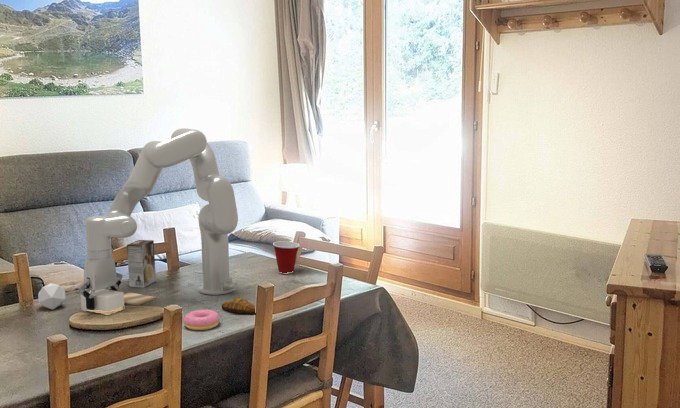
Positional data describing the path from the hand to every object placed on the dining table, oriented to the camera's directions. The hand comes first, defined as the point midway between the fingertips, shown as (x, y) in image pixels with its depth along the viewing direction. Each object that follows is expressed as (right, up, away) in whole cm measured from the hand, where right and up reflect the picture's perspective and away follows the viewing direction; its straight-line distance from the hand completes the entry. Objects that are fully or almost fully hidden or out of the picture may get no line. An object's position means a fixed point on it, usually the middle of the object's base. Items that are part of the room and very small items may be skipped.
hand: (102, 305), depth 217 cm
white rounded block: (0, -2, 0) cm, 2 cm away
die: (-18, -2, +4) cm, 18 cm away
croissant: (+45, -2, -1) cm, 45 cm away
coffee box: (+4, +3, +31) cm, 32 cm away
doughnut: (+36, -4, -14) cm, 39 cm away
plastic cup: (+57, +6, +47) cm, 74 cm away
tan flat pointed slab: (+7, 0, +12) cm, 14 cm away
